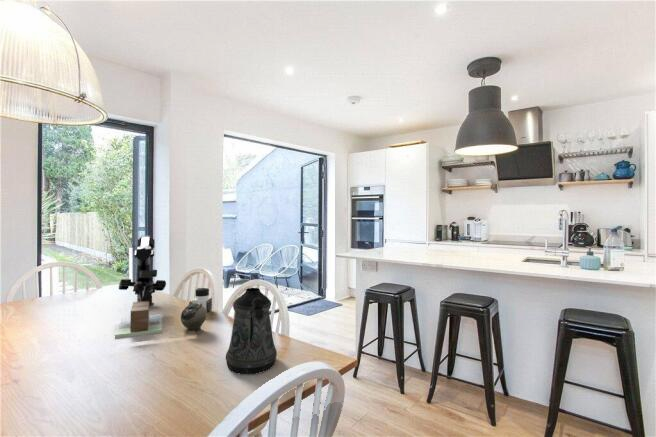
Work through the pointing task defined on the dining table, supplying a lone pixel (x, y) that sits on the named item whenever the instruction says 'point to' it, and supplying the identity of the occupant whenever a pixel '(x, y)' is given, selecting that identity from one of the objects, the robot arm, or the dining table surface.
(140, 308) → the walnut box
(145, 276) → the robot arm
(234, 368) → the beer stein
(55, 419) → the dining table surface
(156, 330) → the trap board
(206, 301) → the medicine bottle
